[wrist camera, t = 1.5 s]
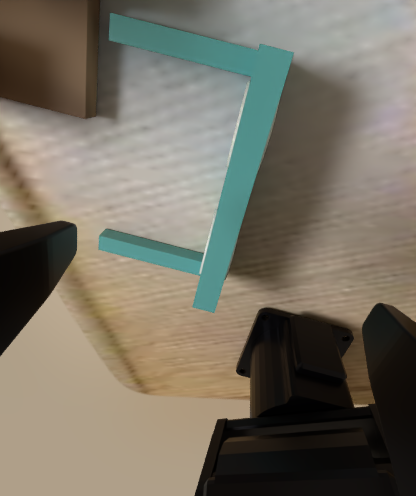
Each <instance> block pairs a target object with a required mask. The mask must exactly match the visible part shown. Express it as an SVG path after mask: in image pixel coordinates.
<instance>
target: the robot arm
mask: <svg viewBox="0 0 416 496" xmlns="http://www.w3.org/2000/svg"><path fill="white" fill-rule="evenodd" d="M76 251H77V227H76V225H75V224H73V223H70V222H66V221H56V222H51V223H46V224H41V225H35V226H30V227H25V228H19V229H14V230H9V231H4V232H0V356H1V355H2V353H3V352H4V351H5V350H6V349H7V347H8V346H9V345H10V344H11V342H12V341H13V340H14V339H15V338H16V336H17V335H18V334H19V333H20V331H21V330H22V329H23V328H24V326H25V325H26V324H27V323H28V322H29V320H30V319H31V318H32V317H33V315H34V314H35V313H36V312H37V311H38V309H39V308H40V307H41V306H42V304H43V303H44V302H45V301H46V299H47V298H48V297H49V295H50V294H51V293H52V291H53V290H54V288H55V287H56V285H57V283H58V282H59V280H60V279H61V277H62V275H63V274H64V272H65V271H66V269H67V268H68V266H69V264H70V263H71V261H72V260H73V258H74V256H75V254H76ZM263 315H268V316H267V317H264V316H263ZM362 334H363V341H364V348H365V354H366V361H367V368H368V374H369V379H370V384H371V388H372V392H373V396H374V399H375V403H376V404H368V405H369V406H366V407H356V408H354V404H353V401H352V398H351V395H350V391H349V388H348V385H347V382H346V378H347V375H346V372H345V368H344V365H343V362H342V359H341V358H342V357H343V355H344V354H345V352H346V351H347V349H348V348H349V346H350V345H351V343H352V341H353V339H354V337H353V334H352V332H351V331H350V330H349V329H346V328H342V327H338V326H334V325H330V324H327V323H323V322H319V321H315V320H311V319H307V318H303V317H299V316H296V315H291V314H287V313H284V312H280V311H276V310H272V309H268V308H262V309H260V310H259V311H258V313H257V316H256V318H255V321H254V323H253V326H252V328H251V331H250V333H249V336H248V338H247V341H246V343H245V346H244V348H243V351H242V353H241V356H240V358H239V361H238V363H237V367H236V372H237V374H239V375H241V376H245V377H249V378H250V418H243V419H233V420H228V419H227V418H226V419H218V420H217V423H216V426H215V429H214V433H213V435H212V438H211V441H210V445H209V448H208V452H207V455H206V458H205V462H204V466H203V469H202V472H201V475H200V479H199V482H198V486H197V489H196V492H195V496H416V322H414V321H413V320H411V319H410V318H409V317H407V316H406V315H405V314H403V313H402V312H401V311H399V310H398V309H397V308H395V307H394V306H391V305H387V304H383V303H378V304H376V305H375V306H374V307H373V309H372V311H371V312H370V314H369V315H368V317H367V318H366V320H365V322H364V323H363V327H362ZM343 336H346V337H343Z"/></svg>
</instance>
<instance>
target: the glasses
mask: <svg viewBox="0 0 416 496" xmlns="http://www.w3.org/2000/svg"><path fill="white" fill-rule="evenodd" d="M109 40H110V41H114V42H118V43H122V44H125V45H129V46H133V47H137V48H141V49H145V50H149V51H153V52H157V53H161V54H165V55H168V56H172V57H176V58H180V59H184V60H188V61H192V62H196V63H200V64H204V65H207V66H211V67H215V68H219V69H223V70H227V71H231V72H235V73H239V74H243V75H246V76H250V77H251V80H250V82H247V86H246V90H245V93H244V97H243V101H242V105H241V109H240V113H239V117H238V121H237V124H236V128H235V132H234V136H233V140H232V144H231V148H230V152H229V157H228V161H227V165H226V167H228V170H227V174H226V178H225V182H224V186H223V190H222V193H221V197H220V201H219V205H218V209H216V210H215V213H214V217H213V221H212V225H211V228H210V232H209V236H208V240H207V244H206V248H205V252H204V254H203V253H199V252H195V251H191V250H187V249H184V248H180V247H176V246H172V245H168V244H164V243H160V242H156V241H152V240H149V239H145V238H141V237H137V236H133V235H129V234H125V233H121V232H117V231H114V230H110V229H105V230H104V231H103V232H102V233H101V234H100V235H99V250H102V251H106V252H110V253H114V254H118V255H121V256H125V257H129V258H133V259H137V260H141V261H145V262H149V263H153V264H156V265H160V266H164V267H168V268H172V269H176V270H180V271H184V272H188V273H191V274H195V275H199V276H200V280H199V283H198V287H197V291H196V295H195V299H194V303H193V308H197V309H201V310H205V311H209V312H213V313H214V312H215V309H216V306H217V302H218V299H219V296H220V293H221V289H222V286H223V283H224V280H225V279H226V277H227V274H228V272H229V269H230V266H231V262H232V259H233V255H234V252H235V248H236V244H237V240H238V235H239V231H240V227H241V224H242V221H243V217H244V214H245V211H246V208H247V204H248V201H249V198H250V194H251V191H252V188H253V185H254V181H255V178H256V175H257V172H258V170H259V168H260V166H261V163H262V161H263V158H264V155H265V152H266V149H267V146H268V143H269V139H270V136H271V133H272V129H273V126H274V122H275V118H276V114H277V110H278V106H279V101H280V96H281V93H282V90H283V87H284V83H285V80H286V77H287V74H288V70H289V67H290V64H291V60H292V57H293V54H294V52H290V51H286V50H282V49H278V48H274V47H271V46H267V45H263V44H260V45H259V49H258V50H254V49H251V48H247V47H243V46H239V45H235V44H231V43H227V42H223V41H219V40H215V39H211V38H208V37H204V36H200V35H196V34H192V33H188V32H184V31H180V30H176V29H172V28H169V27H165V26H161V25H157V24H153V23H149V22H145V21H141V20H137V19H133V18H130V17H126V16H122V15H118V14H114V13H110V24H109Z"/></svg>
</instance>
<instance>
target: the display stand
mask: <svg viewBox="0 0 416 496" xmlns="http://www.w3.org/2000/svg"><path fill="white" fill-rule="evenodd" d="M99 14H100V0H0V97H2V98H6V99H10V100H14V101H18V102H21V103H25V104H29V105H33V106H37V107H41V108H45V109H49V110H53V111H56V112H60V113H64V114H68V115H72V116H76V117H80V118H84V119H87V118H91V117H95V116H96V101H97V72H98V43H99Z"/></svg>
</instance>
